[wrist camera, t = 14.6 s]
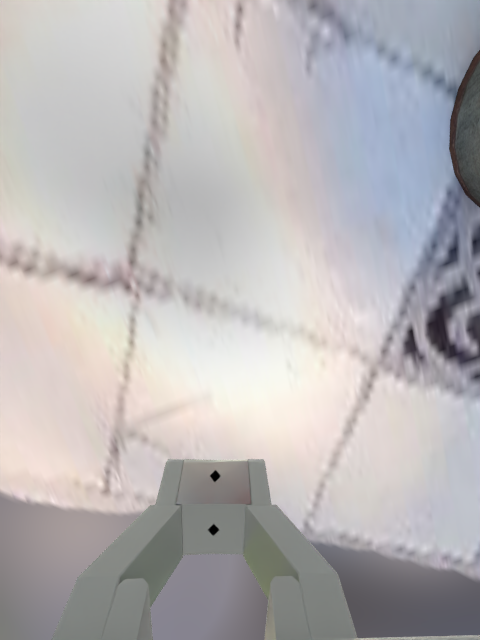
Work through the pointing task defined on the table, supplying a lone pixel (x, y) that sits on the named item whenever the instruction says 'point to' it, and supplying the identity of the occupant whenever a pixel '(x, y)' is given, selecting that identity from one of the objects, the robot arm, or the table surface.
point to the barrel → (467, 132)
